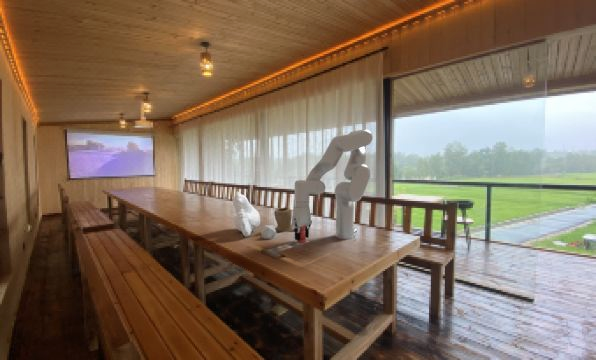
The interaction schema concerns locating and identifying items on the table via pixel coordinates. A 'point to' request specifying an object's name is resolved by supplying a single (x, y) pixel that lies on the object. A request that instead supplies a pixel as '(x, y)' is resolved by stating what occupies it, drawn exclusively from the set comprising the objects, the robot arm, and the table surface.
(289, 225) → the stone cup
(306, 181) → the robot arm
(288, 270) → the table surface
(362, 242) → the table surface
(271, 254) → the board
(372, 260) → the table surface
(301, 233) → the pawn
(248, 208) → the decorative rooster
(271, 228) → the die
